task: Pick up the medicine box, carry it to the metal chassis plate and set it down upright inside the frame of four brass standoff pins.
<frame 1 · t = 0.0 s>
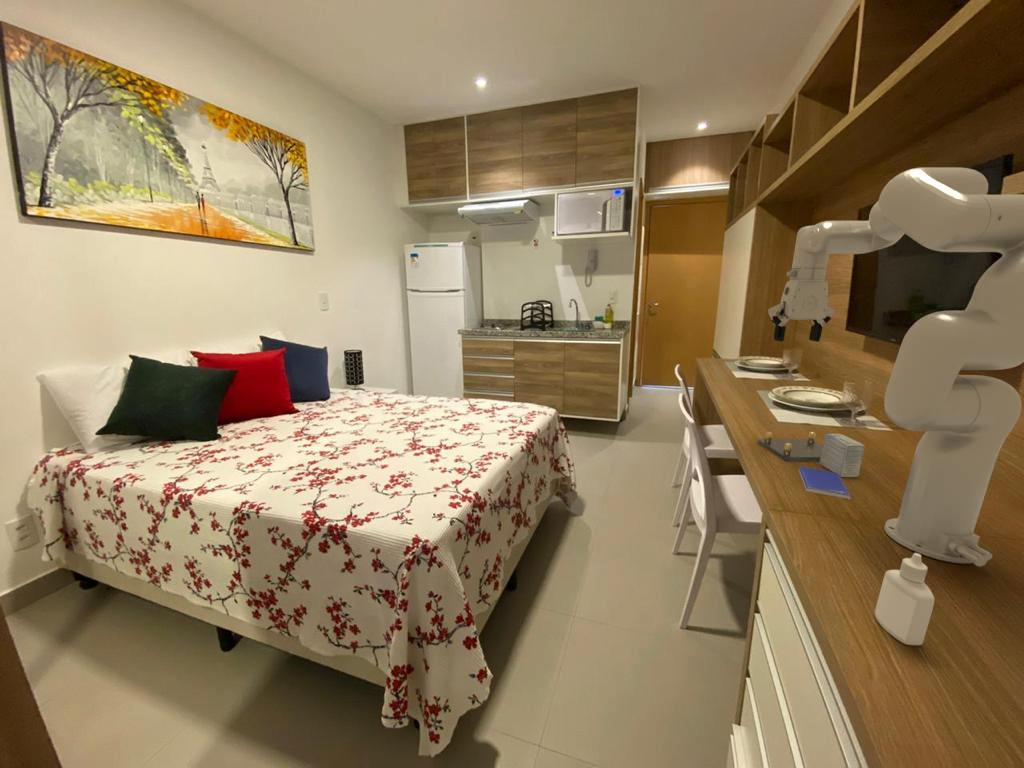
hand: (796, 340, 113), 31 cm above the counter, tool pointing down, fingers open, 9 cm apart
hard drive: (822, 486, 99), on the counter
medicine box: (837, 471, 106), on the counter
chassis: (798, 451, 118), on the counter
eye dropper bottle: (896, 631, 58), on the counter
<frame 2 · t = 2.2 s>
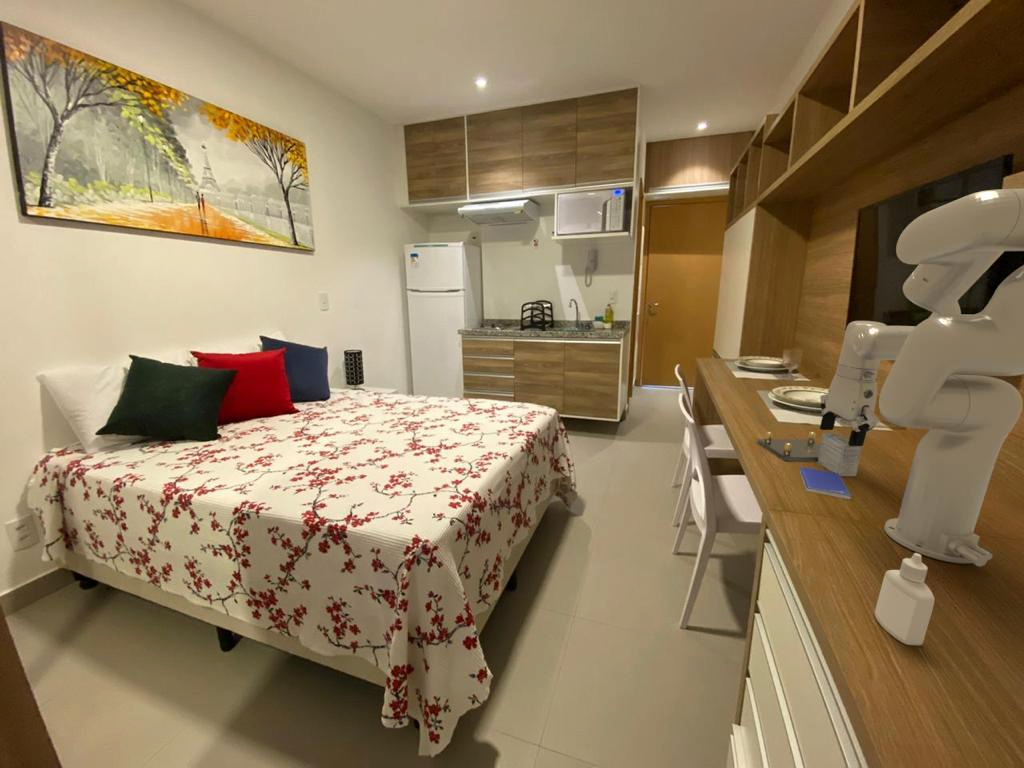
hand: (840, 437, 106), 8 cm above the counter, tool pointing down, fingers open, 9 cm apart
medicine box: (835, 470, 107), on the counter, touching gripper
everything else where it was.
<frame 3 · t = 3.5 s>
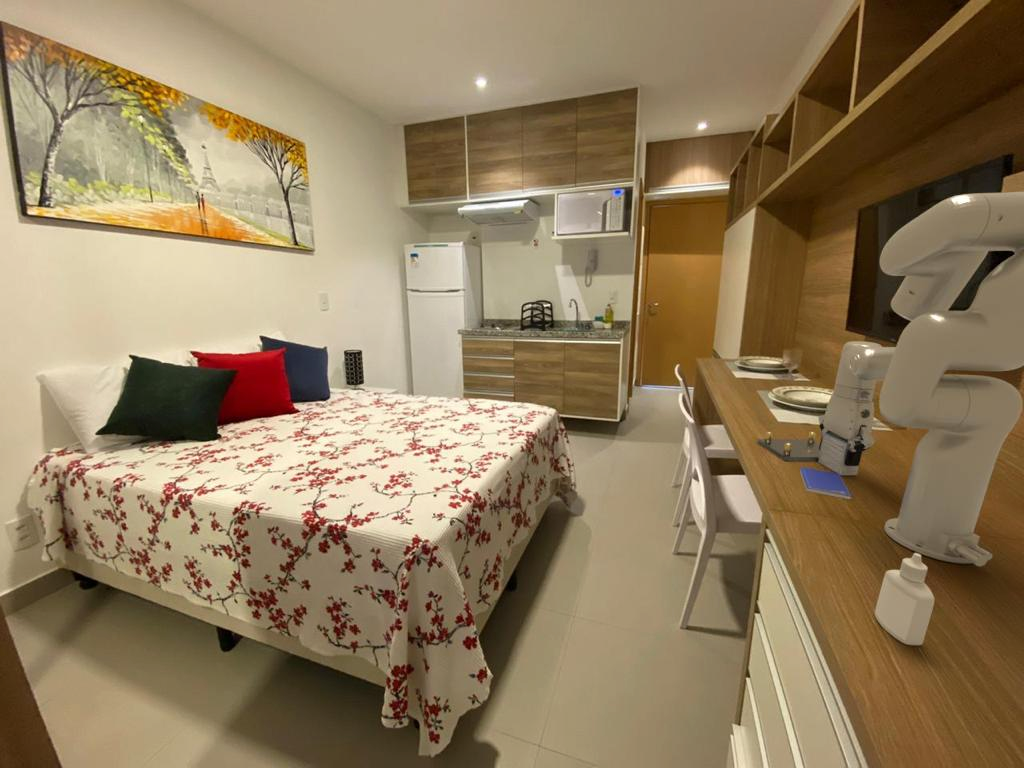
hand: (837, 457, 106), 3 cm above the counter, tool pointing down, fingers closed on medicine box, 8 cm apart
medicine box: (836, 469, 107), on the counter, touching gripper
everything else where it was.
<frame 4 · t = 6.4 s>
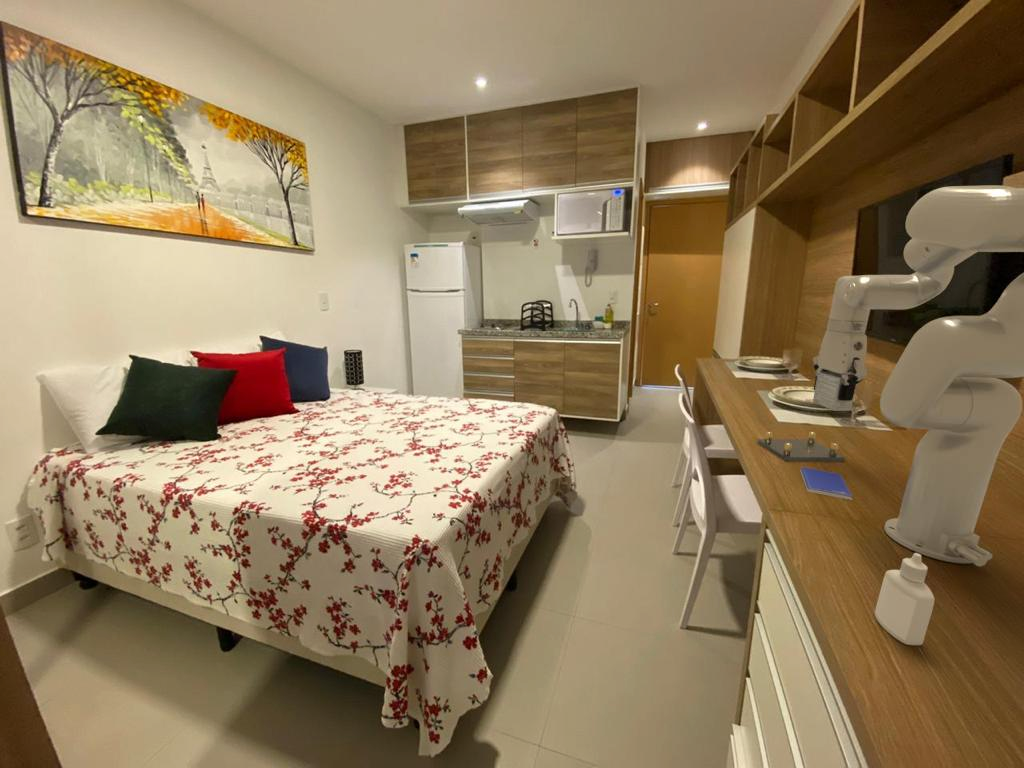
hand: (832, 394, 107), 19 cm above the counter, tool pointing down, fingers closed on medicine box, 8 cm apart
medicine box: (830, 407, 108), point 15 cm above the counter, touching gripper
everything else where it was.
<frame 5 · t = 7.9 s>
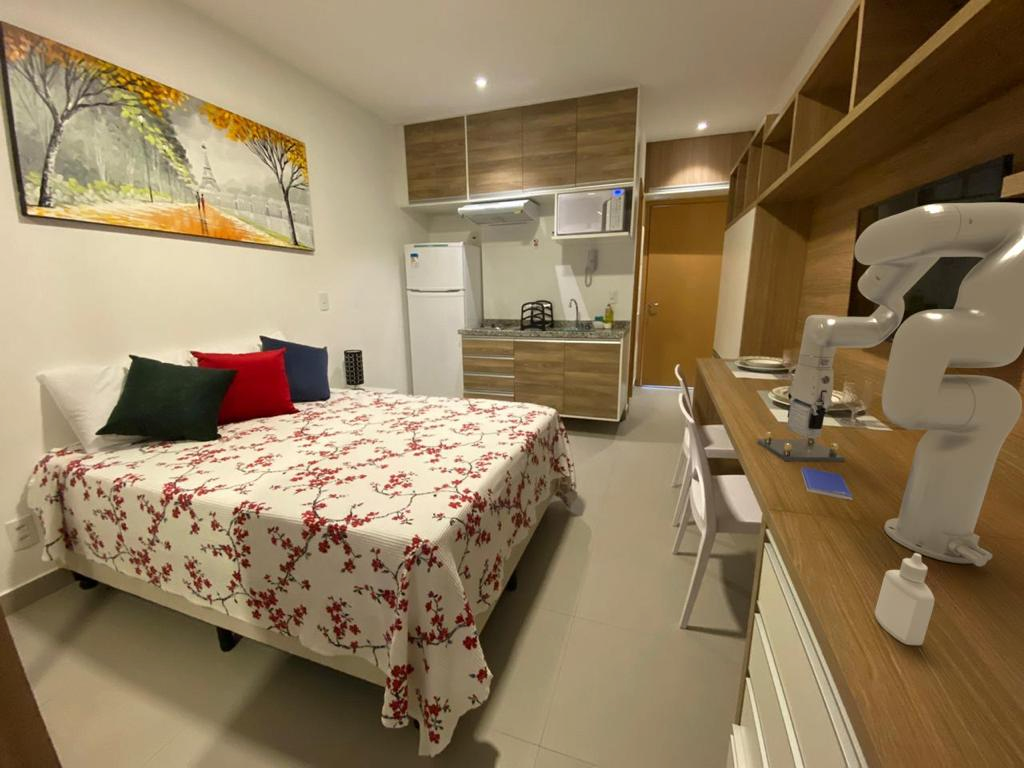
hand: (803, 422, 116), 9 cm above the counter, tool pointing down, fingers closed on medicine box, 8 cm apart
medicine box: (802, 434, 116), point 5 cm above the counter, touching gripper
everything else where it was.
when the fingers open (5 cm above the counter, at t = 9.4 s): medicine box stays where it is, resting on chassis.
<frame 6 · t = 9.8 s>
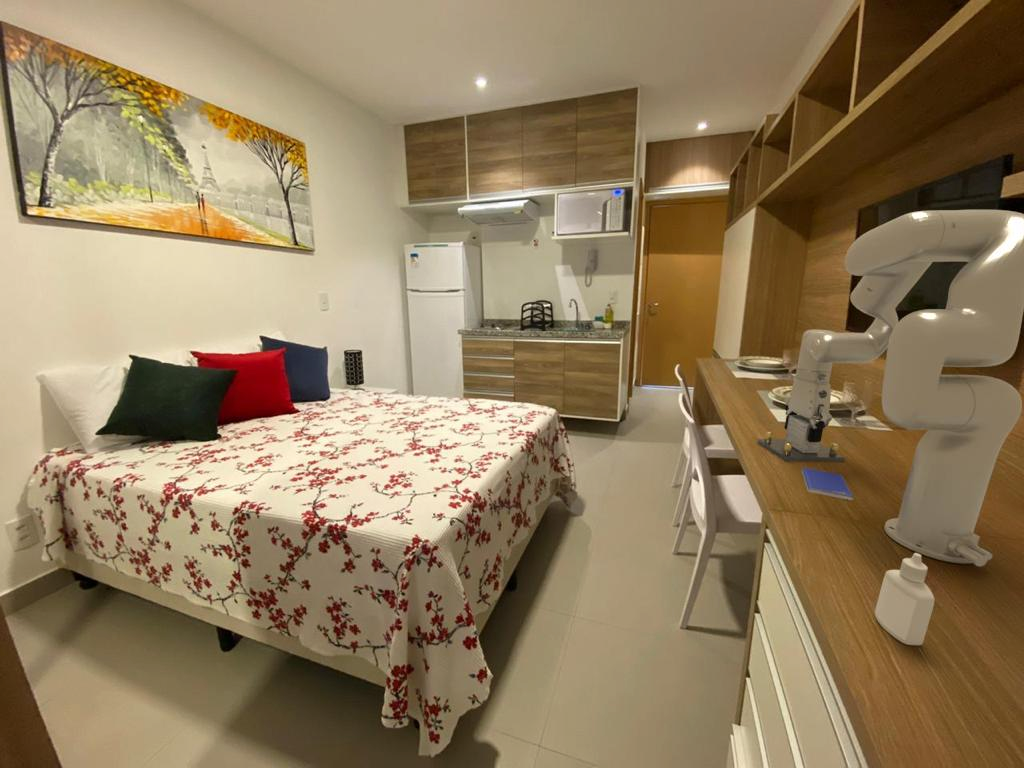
hand: (801, 435, 116), 5 cm above the counter, tool pointing down, fingers open, 9 cm apart
medicine box: (800, 448, 117), point 1 cm above the counter, touching chassis
everything else where it was.
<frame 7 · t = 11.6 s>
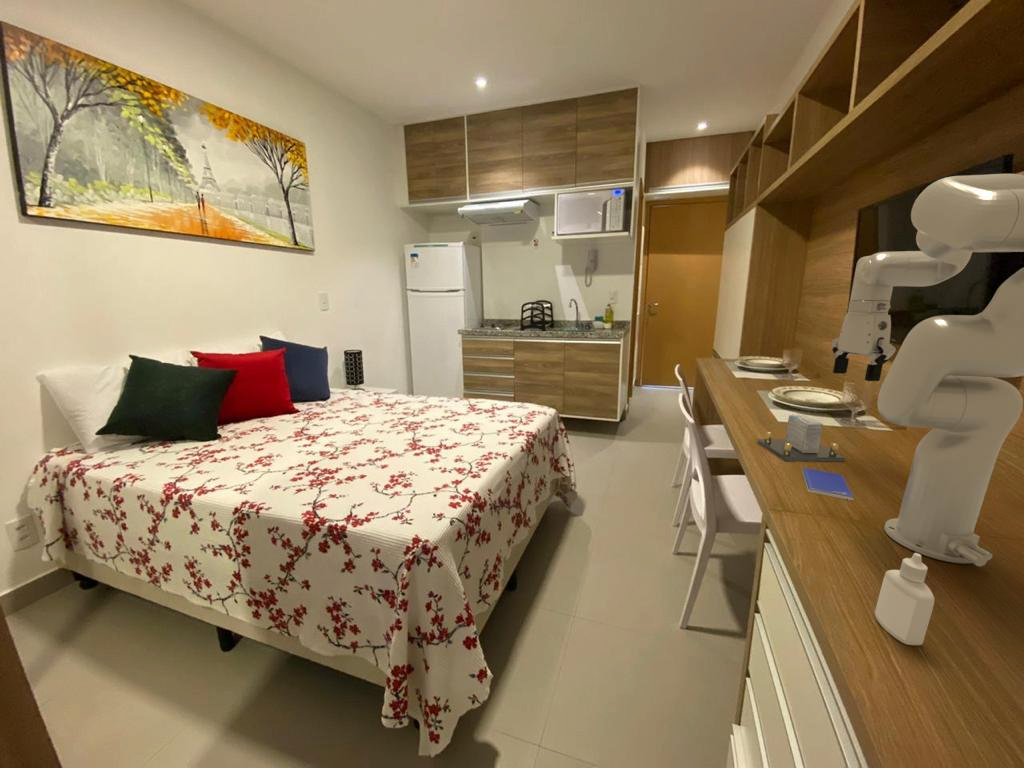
hand: (854, 376, 105), 23 cm above the counter, tool pointing down, fingers open, 9 cm apart
nothing on the counter moved.
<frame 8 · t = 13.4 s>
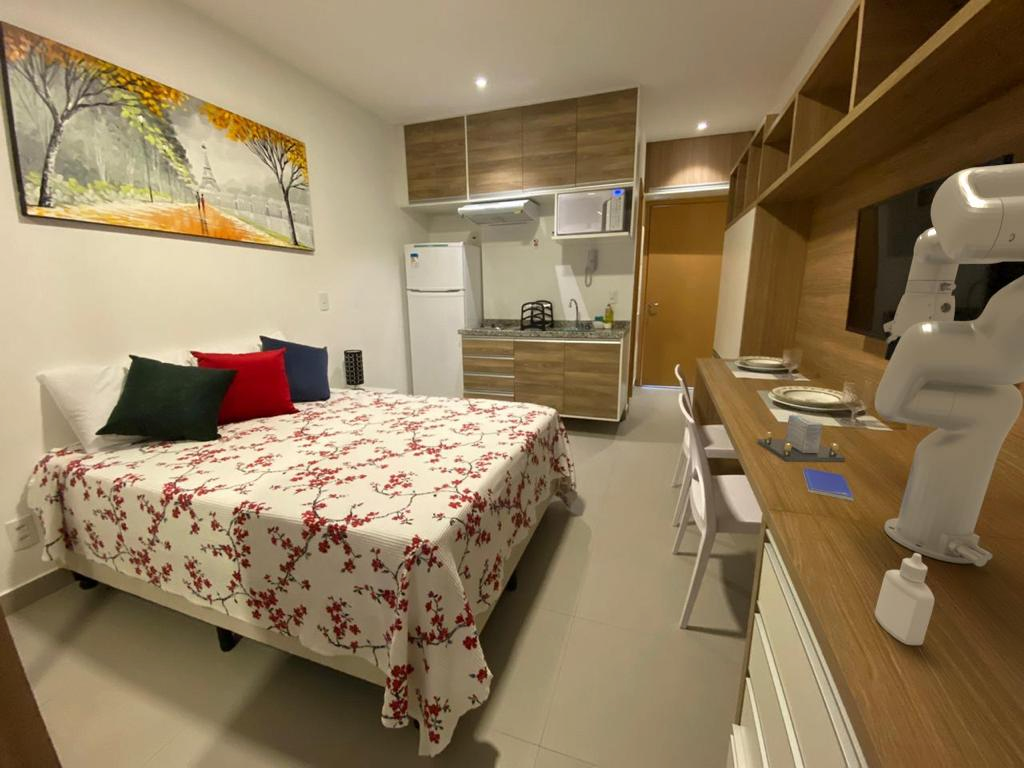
hand: (910, 363, 97), 28 cm above the counter, tool pointing down, fingers open, 9 cm apart
nothing on the counter moved.
at the end: medicine box 0.3 cm off-centre on the chassis, point 1.0 cm above the chassis's base; medicine box tilted 0°; the gripper is holding nothing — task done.
